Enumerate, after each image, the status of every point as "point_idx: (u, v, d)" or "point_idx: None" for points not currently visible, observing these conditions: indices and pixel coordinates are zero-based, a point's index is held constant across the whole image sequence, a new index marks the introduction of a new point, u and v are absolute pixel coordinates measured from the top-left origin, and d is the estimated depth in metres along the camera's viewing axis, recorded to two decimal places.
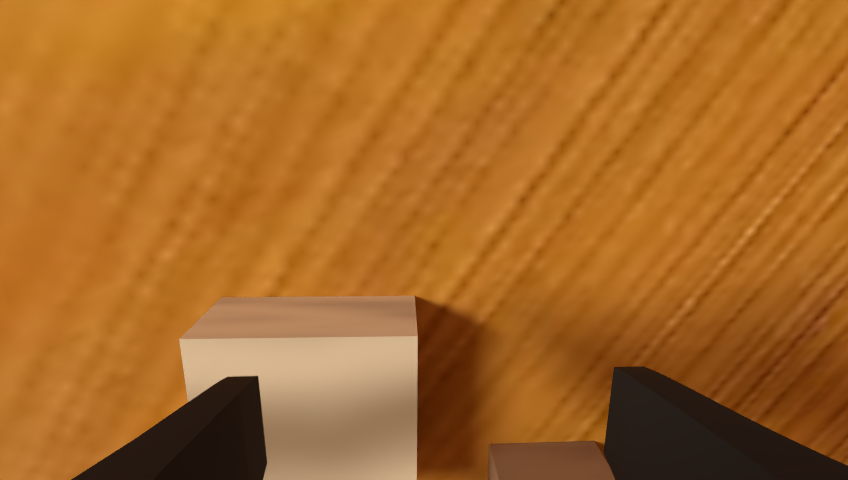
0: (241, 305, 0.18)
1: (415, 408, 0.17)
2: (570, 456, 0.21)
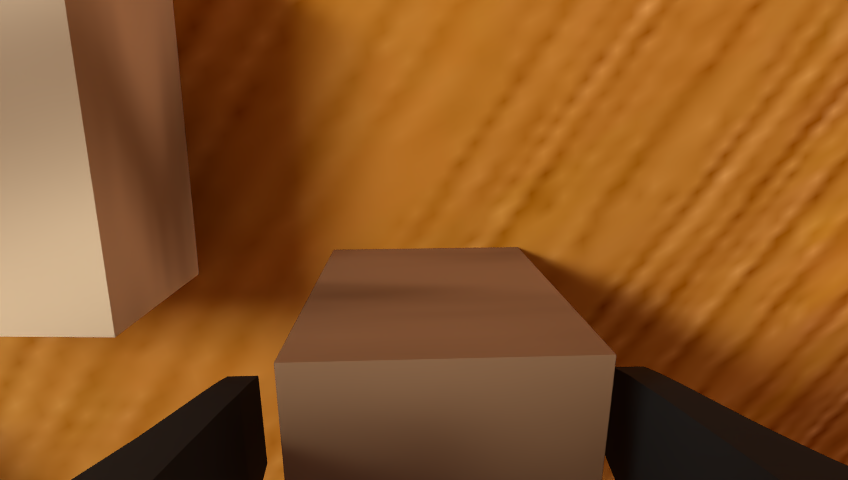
0: None
1: (68, 47, 0.07)
2: (467, 258, 0.12)
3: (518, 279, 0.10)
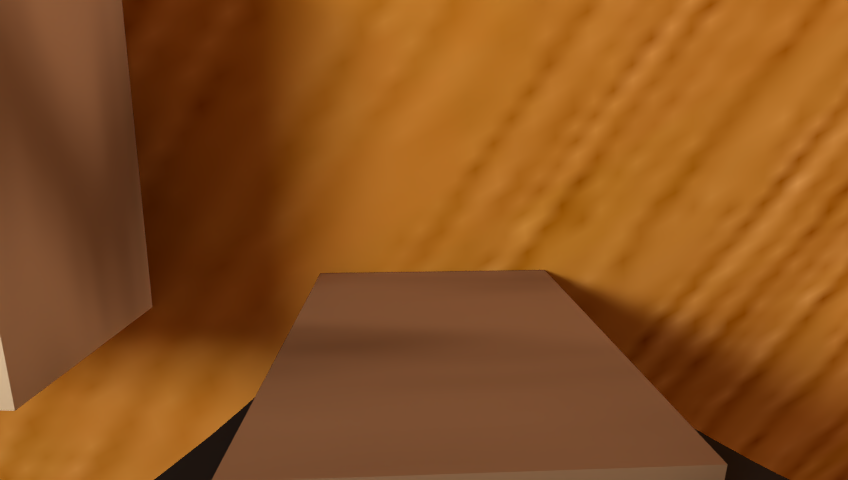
0: None
1: None
2: (485, 287, 0.09)
3: (555, 320, 0.08)
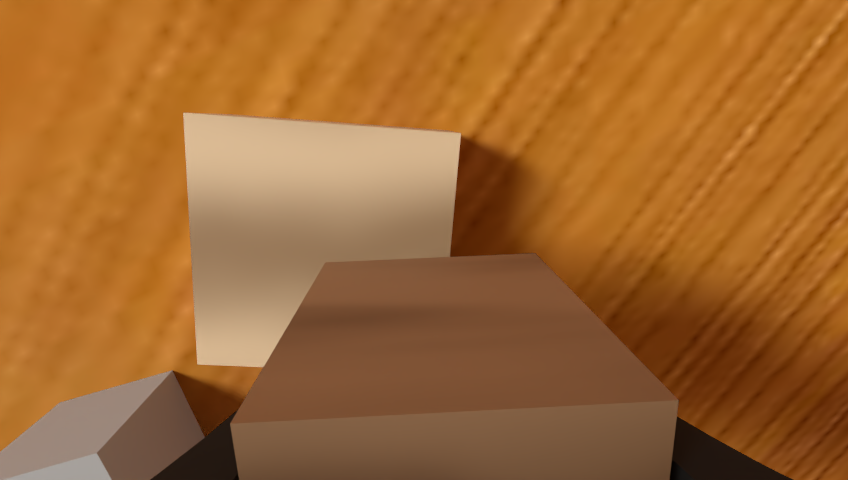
0: (253, 116, 0.16)
1: (450, 226, 0.14)
2: (477, 269, 0.10)
3: (540, 294, 0.08)
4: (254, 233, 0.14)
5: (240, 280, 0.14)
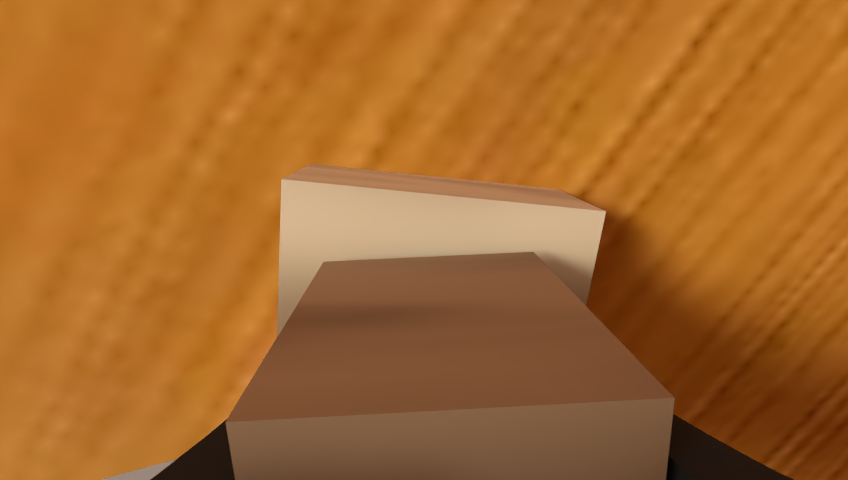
0: (342, 170, 0.14)
1: None
2: (476, 268, 0.10)
3: (538, 293, 0.08)
4: None
5: None
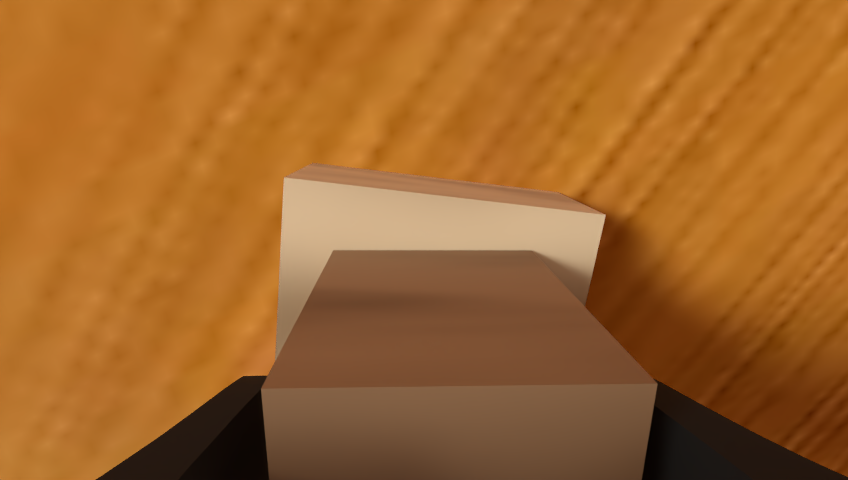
0: (344, 170, 0.14)
1: None
2: (478, 262, 0.11)
3: (536, 288, 0.09)
4: None
5: None
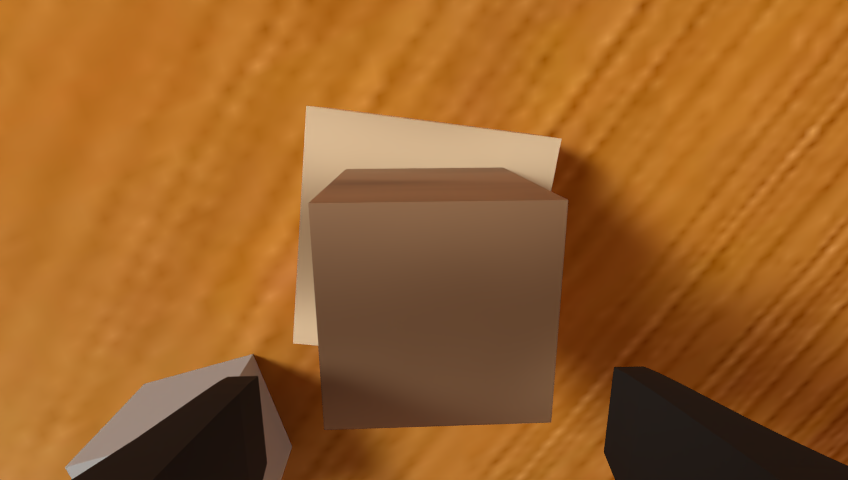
0: None
1: None
2: (459, 171, 0.14)
3: (501, 178, 0.12)
4: None
5: None
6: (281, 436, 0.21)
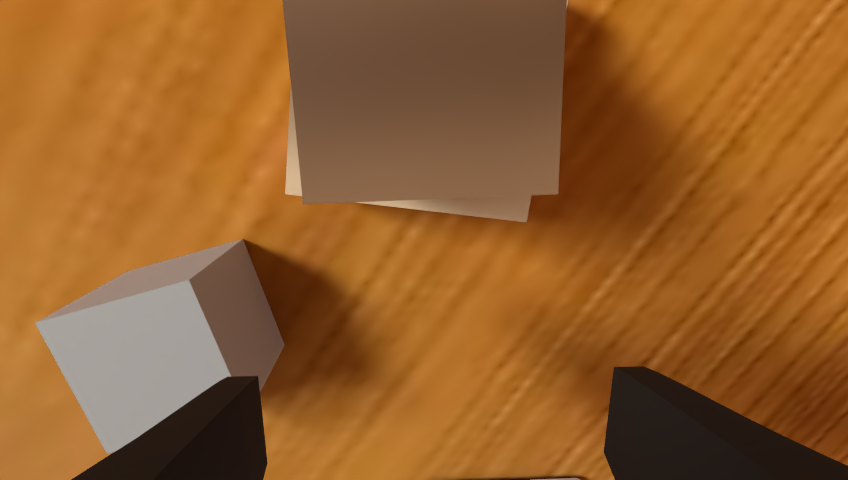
0: None
1: None
2: None
3: None
4: None
5: None
6: (273, 330, 0.19)
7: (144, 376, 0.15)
